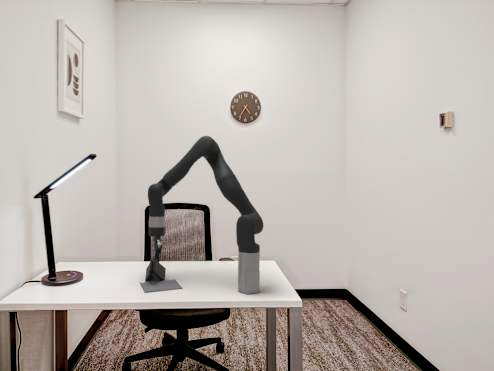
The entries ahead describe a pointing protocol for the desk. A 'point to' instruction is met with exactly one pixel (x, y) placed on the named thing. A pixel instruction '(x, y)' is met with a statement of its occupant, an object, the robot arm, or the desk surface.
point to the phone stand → (155, 271)
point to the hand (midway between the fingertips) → (156, 262)
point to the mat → (160, 285)
